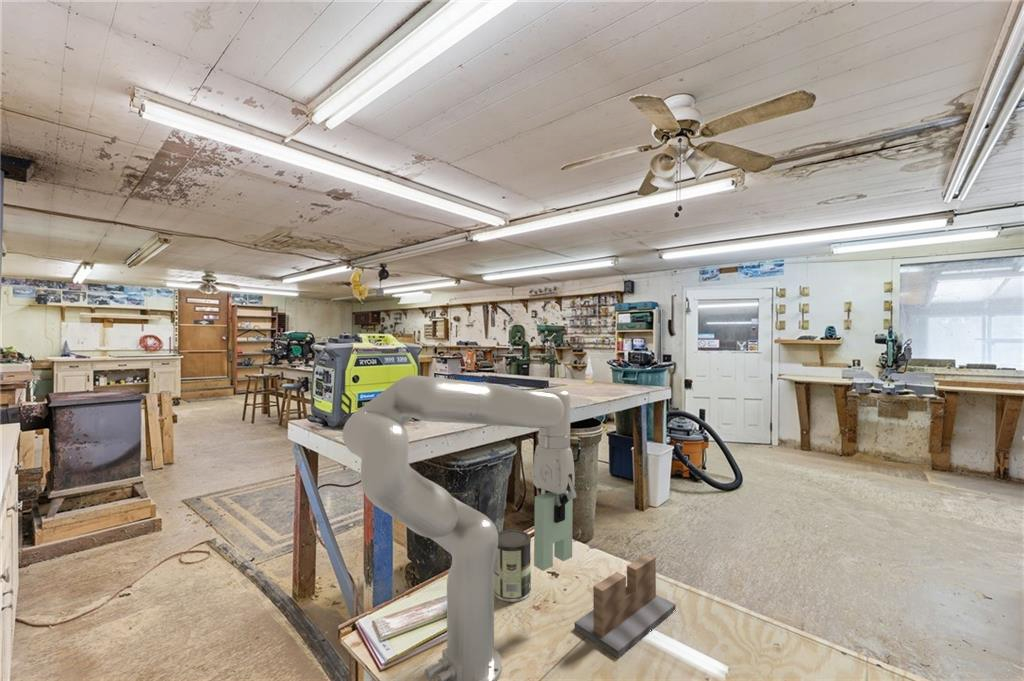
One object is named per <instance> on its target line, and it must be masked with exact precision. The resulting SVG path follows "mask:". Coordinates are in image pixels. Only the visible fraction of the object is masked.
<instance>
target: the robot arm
mask: <svg viewBox="0 0 1024 681" xmlns="http://www.w3.org/2000/svg"><path fill="white" fill-rule="evenodd" d="M412 418H413V419H416V420H419V421H424V422H431V423H456V424H474V425H475V424H477V425H485V426H506V427H520V428H528V429H529V428H531V429H534V428H535V429H538V433H537V438H538V444H537V445H536V447H535V451H534V457H533V467H532V483H533V484H532V485H533V486H534V487H535V488H536V489H537V491H538V492H539V494H540V495H542V494H545V493H548V492H552V493H555V494H556V505H555V506H554V522H555V523H558V522H561V521H564V520H565V504H567V503H568V501H569V500H570V499H576V498H577V497H578V496H577V492H576V490H575V483H576V481H575V480H576V479H575V478H576V477H575V474H576V473H575V462H574V454H573V450H572V448H571V394H570V393H569V391H567V390H563V389H553V388H552V389H550V388H549V389H545V390H544V389H543V390H541V391H540V390H528V389H517V388H511V387H506V386H501V385H497V384H492V383H485V382H478V381H472V380H471V381H468V380H461V379H452V378H451V379H450V378H443V377H436V376H435V377H434V376H426V375H419V374H418V375H415V374H412V375H410V374H409V375H406V376H404V377H402V378H400V379H399V380H397V381H395V382H394V383H392V384H391V385H389V386H388V387H387V388H385V390H383V391H382V392H381V393H378V395H376V396H375V397H374V398H372V399H371V400H370V401H368V402H367V403H365V404H364V405H362V406H361V407H360V408H359V409H357V411H354V413H352V414H351V415H350V417H349V418H348V419H347V421H346V422H345V424H344V426H343V429H342V441H343V442H344V443H343V444H344V445H345V447H346V448H347V449H348V450H349V452H351V453H352V454H354V455H355V456H357V457H358V458H360V459H361V460H360V461H361V465H360V482H361V487H362V490H363V493H364V495H365V497H366V498H367V499H368V500H369V501H370V502H371V503H372V504H373V505H374V506H375V507H377V508H378V509H380V510H382V511H383V512H385V513H386V514H388V515H389V516H391V517H392V518H393V519H395V520H396V521H399V522H400V523H401V524H402V525H404V526H405V527H406V528H408V529H409V530H411V531H412V532H413V533H415V534H416V535H418V536H421V537H424V538H426V539H427V538H428V539H431V541H434V542H435V543H437V544H438V545H439V546H440V547H441V548H443V550H445V551H446V552H448V553H449V555H451V558H452V560H451V566H450V568H449V571H448V574H447V580H446V648H444V649H443V650H442V651H441V652H442V655H441V657H440V658H438V660H437V661H438V662H436V663H433V664H432V665H430V666H428V667H426V668H425V669H424V674H425V675H424V676H425V678H426V680H427V681H431V680H432V679H434V678H435V677H437V681H498V679H499V678H500V675H501V673H502V669H503V666H502V665H503V664H502V661H503V660H502V656H501V655H500V652H498V650H497V649H496V647H495V595H494V565H495V558H496V553H497V547H498V529H497V526H496V525H495V523H494V522H493V521H492V519H490V518H489V517H488V516H487V515H486V514H484V513H482V512H481V511H479V510H477V509H476V508H474V507H471V506H470V505H467V504H465V503H464V502H462V501H460V500H459V499H457V498H455V497H454V496H452V495H451V494H450V492H449V491H448V490H447V489H445V488H444V487H443V486H442V485H441V486H440V485H439V484H438V483H435V482H434V481H432V480H430V479H428V478H426V477H425V476H423V475H421V473H420V472H418V471H416V469H414V468H412V467H411V465H410V462H409V445H410V440H409V434H408V431H407V429H406V427H405V424H407V423H408V422H409V421H410V420H411V419H412ZM567 491H568V494H567ZM561 495H562V498H561ZM439 673H440V674H439Z"/></svg>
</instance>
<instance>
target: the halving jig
mask: <svg viewBox="0 0 1024 681" xmlns="http://www.w3.org/2000/svg"><path fill="white" fill-rule="evenodd" d="M656 560H657V559H656V557H655V556H654V555H650V554H648V553H645V554H644V555H643V556H640V557H638V558H637V559H636V560H634V561H633V562H631V563H629V564H628V565H626V575H624V574H622V573H620V572H618V571H616V572H614V573H613V574H611V575H610V576H608V577H606V578H605V579H603V580H601V581H599V582H598V583H596V584H595V585H593V592H592V594H593V597H592V598H593V600H592V601H593V609H592V610H590V611H589V612H588V613H586V614H585V615H583V616H582V617H580V618H579V619H577V620H576V621H574V631H575V630H576V632H578V633H580V634H581V635H583V636H584V637H586V638H587V639H589V640H590V641H592V642H594V643H595V644H597V645H598V646H599V647H601V648H602V649H604V650H605V651H607V652H608V653H610V654H611V655H613V656H614V657H616V658H617V659H620V657H622V656H623V655H624V654H625V653H626V652H628V651H630V649H631V648H634V646H635V645H636V644H637V643H639V642H640V641H641V640H642V639H643V638H645V637H646V636H647V635H648V634H649V633H650V632H651V631H650V630H652V629H653V630H654V629H655V628H657V626H659V625H660V624H662V622H664V619H665V620H666V619H667V618H668V617H670V616H671V615H672V614H673V613H674V612H675V611H676V610H675V609H676V607H677V605H676V603H674V602H672V601H670V600H668V599H666V598H664V597H662V596H659V595H658V594H657V587H656V585H657V579H656V577H657V575H656V571H657V570H656V568H657V567H656ZM674 610H675V611H674ZM673 611H674V612H673ZM672 612H673V613H672ZM671 613H672V614H671ZM670 614H671V615H670ZM653 630H652V631H653ZM649 631H650V632H649ZM648 632H649V633H648Z"/></svg>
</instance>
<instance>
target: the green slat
mask: <svg viewBox="0 0 1024 681" xmlns="http://www.w3.org/2000/svg"><path fill="white" fill-rule="evenodd" d="M567 494H568V491H567ZM561 498H562V495H561ZM573 499H574V498H573ZM573 499H570V500H569V501H568V503H567V504H565V520H564V521H561V522H558V523H555V522H554V506H555V505H556V494H555V493H552V492H548V493H545V494H542V495H541V494H540V495H539V494H538V495H535V496H534V522H533V523H534V524H533V525H534V527H533V528H534V530H533V533H534V538H533V541H534V542H533V543H534V544H533V548H534V549H533V550H534V551H533V566H534V567H535V568H538V570H540V571H542V572H543V571H546V570H549V569H551V568H552V567H553V565H554V560H553V559H554V558H556V559H558V560H560V561H562V562H565V561H567V560H569V559H572V558H573V513H574V512H573V510H574V509H573V507H574V506H573V504H574V503H573V502H574V501H573Z"/></svg>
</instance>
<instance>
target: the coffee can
mask: <svg viewBox="0 0 1024 681" xmlns="http://www.w3.org/2000/svg"><path fill="white" fill-rule="evenodd" d="M497 532H498V531H497ZM531 541H532V537H531V535H530V534H528V532H526V531H524V530H519V529H506V530H501V531H499V532H498V547H497V553H496V558H495V565H494V597H496V599H499V600H500V601H503V602H509V603H514V602H515V603H516V602H520V601H523V600H526V599H527V598H528V597H529V596H530V595H531V594H532V582H531V581H532V580H531V578H532V574H531V573H532V572H531V570H532V568H531V567H532V566H531V565H532V564H531V563H532V562H531V554H532V553H531Z"/></svg>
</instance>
